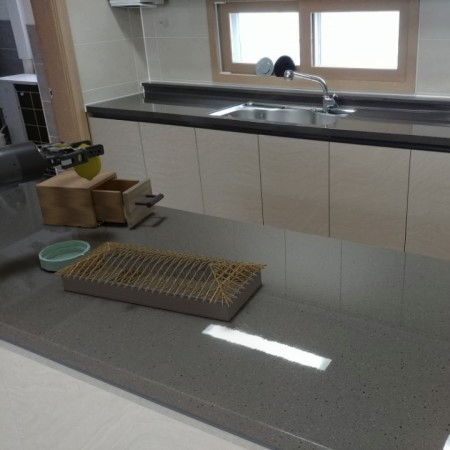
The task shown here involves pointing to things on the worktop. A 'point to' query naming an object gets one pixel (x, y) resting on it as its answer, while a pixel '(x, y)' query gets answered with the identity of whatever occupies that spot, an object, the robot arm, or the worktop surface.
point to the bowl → (63, 254)
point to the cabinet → (70, 199)
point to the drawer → (124, 200)
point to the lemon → (89, 167)
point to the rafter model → (166, 266)
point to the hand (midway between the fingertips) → (96, 146)
